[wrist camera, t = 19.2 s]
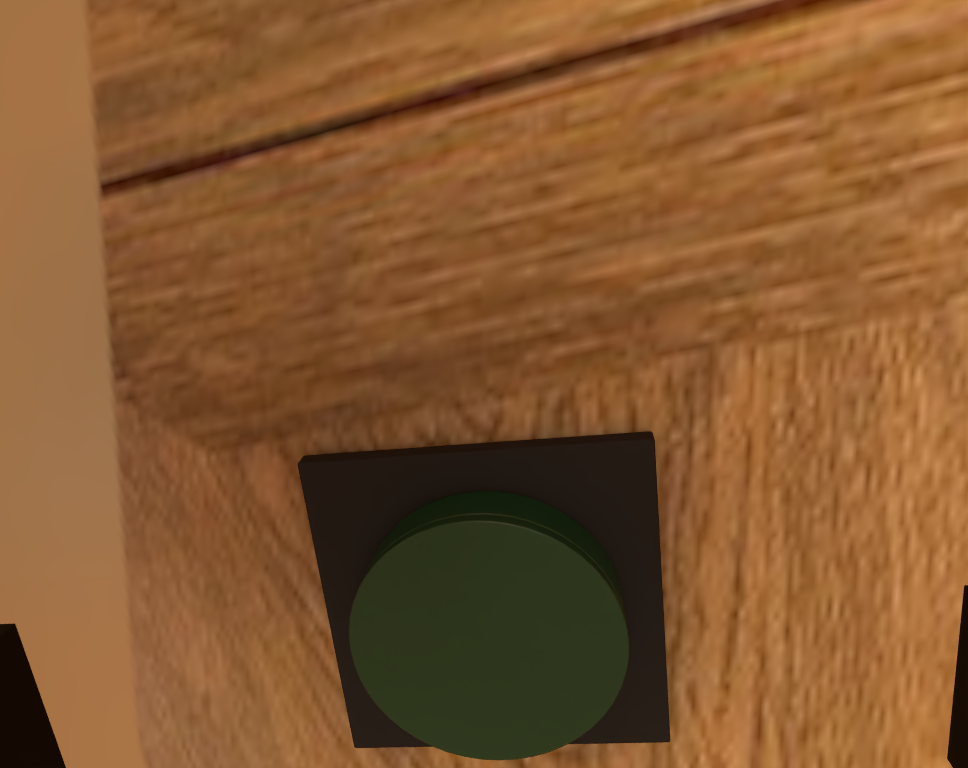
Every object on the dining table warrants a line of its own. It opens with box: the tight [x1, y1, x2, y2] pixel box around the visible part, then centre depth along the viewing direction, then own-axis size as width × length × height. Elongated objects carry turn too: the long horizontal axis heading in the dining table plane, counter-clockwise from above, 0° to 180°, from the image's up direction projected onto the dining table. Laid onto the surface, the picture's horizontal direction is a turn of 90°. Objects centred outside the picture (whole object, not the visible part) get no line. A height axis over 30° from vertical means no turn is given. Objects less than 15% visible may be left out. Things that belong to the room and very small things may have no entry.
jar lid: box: [349, 491, 629, 760], centre depth 21 cm, size 8×8×2 cm
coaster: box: [298, 432, 670, 748], centre depth 22 cm, size 10×10×1 cm
